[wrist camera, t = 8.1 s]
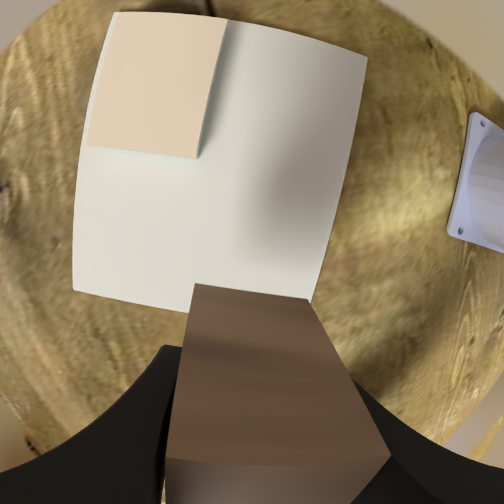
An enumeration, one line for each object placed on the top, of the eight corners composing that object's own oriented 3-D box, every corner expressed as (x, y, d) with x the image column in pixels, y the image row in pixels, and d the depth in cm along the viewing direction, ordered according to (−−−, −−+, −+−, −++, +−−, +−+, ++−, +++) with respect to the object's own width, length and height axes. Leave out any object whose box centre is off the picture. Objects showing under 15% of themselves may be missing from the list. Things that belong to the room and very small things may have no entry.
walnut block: (281, 383, 12) (319, 533, 6) (184, 373, 12) (166, 533, 5) (307, 298, 11) (391, 455, 4) (194, 283, 11) (165, 456, 4)
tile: (198, 158, 14) (227, 31, 12) (194, 159, 12) (227, 19, 11) (98, 145, 13) (128, 22, 11) (86, 145, 12) (119, 11, 10)
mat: (364, 59, 13) (367, 57, 13) (300, 324, 17) (302, 328, 17) (116, 15, 11) (114, 12, 11) (75, 286, 16) (73, 289, 15)
